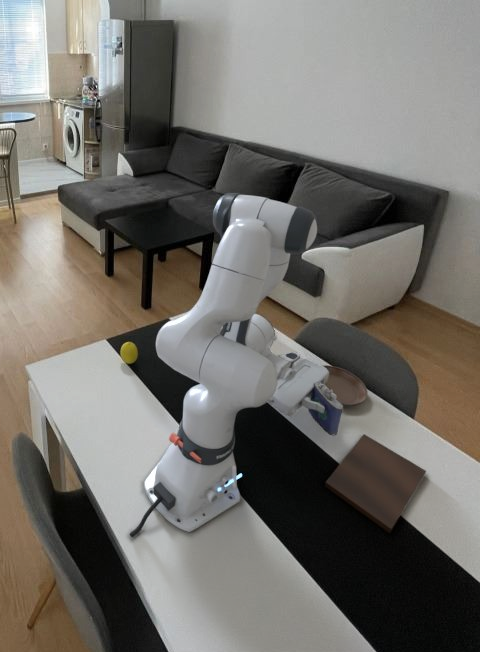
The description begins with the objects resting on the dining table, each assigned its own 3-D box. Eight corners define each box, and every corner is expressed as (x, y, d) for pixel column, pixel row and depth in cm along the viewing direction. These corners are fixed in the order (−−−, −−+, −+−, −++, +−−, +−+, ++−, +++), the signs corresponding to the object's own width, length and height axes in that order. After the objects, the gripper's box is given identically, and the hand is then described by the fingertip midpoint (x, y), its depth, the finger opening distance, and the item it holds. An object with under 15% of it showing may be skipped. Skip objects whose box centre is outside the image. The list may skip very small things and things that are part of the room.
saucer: (375, 413, 115) (377, 406, 114) (316, 408, 117) (317, 400, 116) (353, 374, 128) (354, 367, 127) (300, 370, 131) (301, 363, 130)
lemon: (118, 359, 140) (117, 339, 137) (133, 355, 141) (133, 335, 138) (124, 370, 135) (124, 350, 132) (140, 366, 136) (140, 346, 133)
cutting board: (390, 533, 87) (391, 529, 87) (324, 486, 97) (325, 481, 97) (424, 475, 98) (426, 470, 98) (362, 438, 108) (363, 433, 107)
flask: (339, 435, 105) (347, 402, 101) (328, 437, 105) (336, 404, 101) (314, 406, 114) (321, 374, 110) (304, 408, 113) (310, 376, 109)
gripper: (257, 382, 109) (311, 416, 99) (298, 348, 121) (350, 375, 110) (254, 401, 112) (307, 436, 101) (294, 366, 123) (346, 394, 113)
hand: (330, 404), depth 106 cm, fingers closed on flask, 4 cm apart
